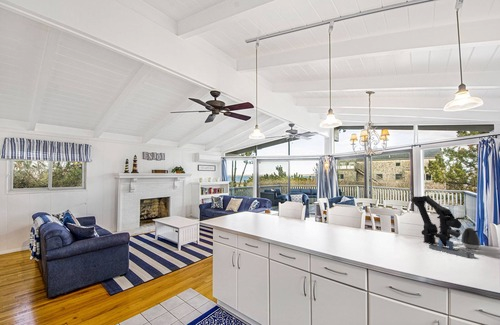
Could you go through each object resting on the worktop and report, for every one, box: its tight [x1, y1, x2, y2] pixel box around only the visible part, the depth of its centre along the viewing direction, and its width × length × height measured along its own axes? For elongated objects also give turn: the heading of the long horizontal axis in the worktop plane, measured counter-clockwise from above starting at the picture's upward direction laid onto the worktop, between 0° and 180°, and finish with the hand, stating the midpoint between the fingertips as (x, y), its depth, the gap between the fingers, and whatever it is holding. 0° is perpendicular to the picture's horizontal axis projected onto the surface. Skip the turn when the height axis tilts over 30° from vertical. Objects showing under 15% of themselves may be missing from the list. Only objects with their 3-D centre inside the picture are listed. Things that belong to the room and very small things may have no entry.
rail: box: [428, 243, 475, 260], centre depth 157 cm, size 24×6×2 cm, turn 30°
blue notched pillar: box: [437, 238, 454, 249], centre depth 166 cm, size 8×3×6 cm, turn 30°
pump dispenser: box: [461, 227, 481, 250], centre depth 168 cm, size 10×10×15 cm
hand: (445, 246), depth 166 cm, fingers closed on blue notched pillar, 3 cm apart
